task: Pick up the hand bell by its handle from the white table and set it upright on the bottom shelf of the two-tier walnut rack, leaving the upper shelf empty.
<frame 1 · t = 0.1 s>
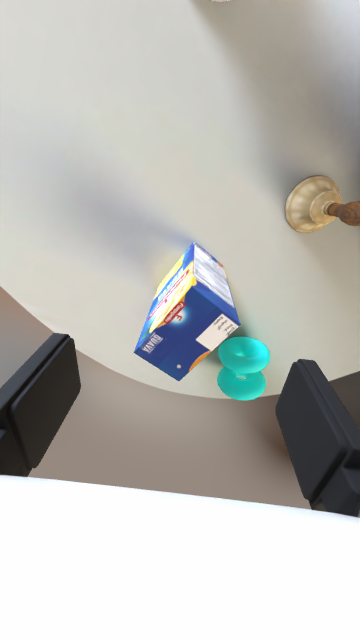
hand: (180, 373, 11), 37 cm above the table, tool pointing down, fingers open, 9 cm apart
beverage box: (189, 275, 47), on the table
donuts: (238, 352, 55), on the table
hand bell: (310, 205, 40), on the table
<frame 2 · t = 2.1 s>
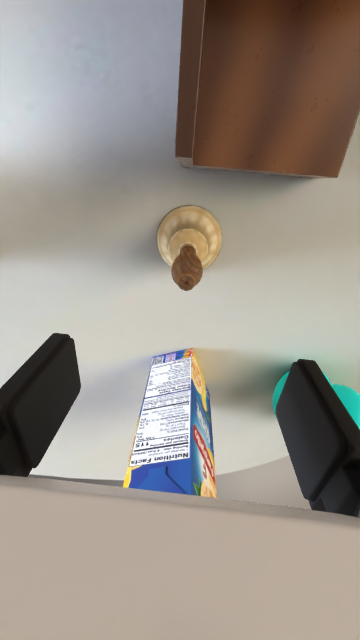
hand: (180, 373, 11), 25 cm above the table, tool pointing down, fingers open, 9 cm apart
beverage box: (182, 375, 43), on the table
donuts: (304, 382, 43), on the table
hand bell: (189, 240, 32), on the table
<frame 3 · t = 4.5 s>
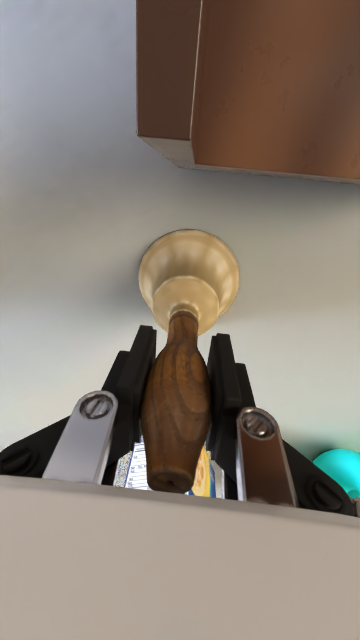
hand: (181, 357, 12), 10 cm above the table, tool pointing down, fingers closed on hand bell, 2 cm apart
beverage box: (178, 449, 32), on the table
donuts: (344, 463, 31), on the table
hand bell: (188, 280, 21), on the table, touching gripper
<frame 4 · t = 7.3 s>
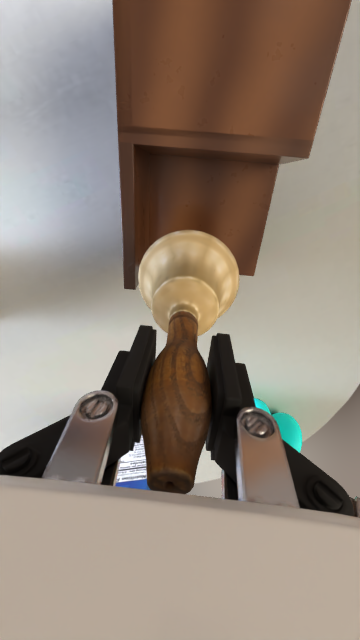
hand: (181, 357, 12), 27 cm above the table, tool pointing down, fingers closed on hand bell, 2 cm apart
rack: (207, 156, 30), on the table
beverage box: (157, 403, 52), on the table
donuts: (258, 409, 51), on the table
hand bell: (188, 281, 21), point 17 cm above the table, touching gripper
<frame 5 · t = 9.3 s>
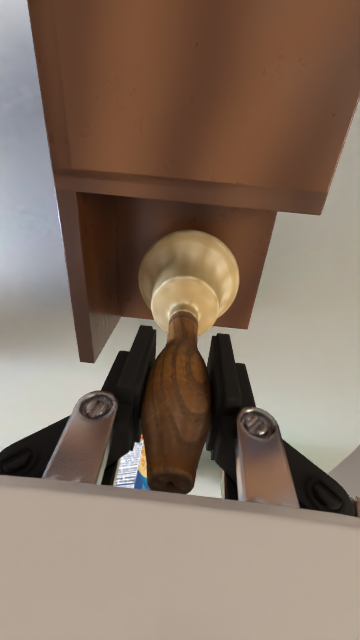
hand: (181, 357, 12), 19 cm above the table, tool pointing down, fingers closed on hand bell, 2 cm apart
rack: (192, 186, 25), on the table
beverage box: (140, 448, 47), on the table
hand bell: (188, 281, 21), point 9 cm above the table, touching gripper
when the fingers open (15 cm above the table, at t = 10.5 s): hand bell stays where it is, resting on rack.
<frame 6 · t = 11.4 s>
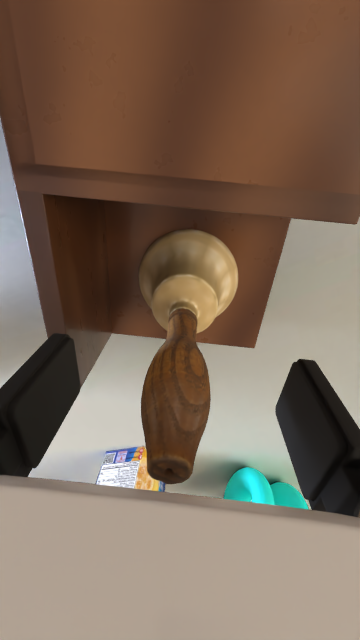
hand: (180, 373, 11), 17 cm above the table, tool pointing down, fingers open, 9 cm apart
rack: (192, 187, 22), on the table
beverage box: (137, 466, 44), on the table
donuts: (257, 476, 43), on the table
hand bell: (187, 279, 21), point 5 cm above the table, touching rack
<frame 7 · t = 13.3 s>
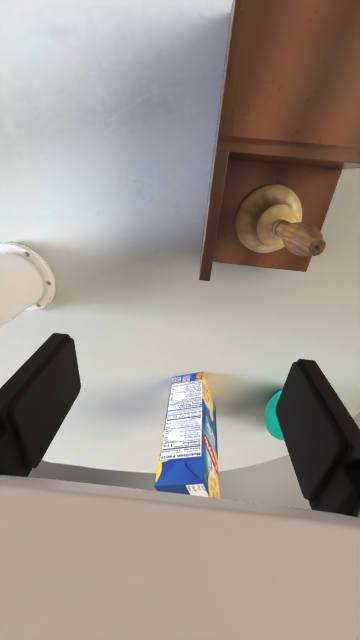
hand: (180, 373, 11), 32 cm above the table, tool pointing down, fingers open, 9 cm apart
rack: (269, 160, 33), on the table
beverage box: (194, 391, 55), on the table
donuts: (291, 400, 54), on the table
hand bell: (267, 220, 32), point 5 cm above the table, touching rack
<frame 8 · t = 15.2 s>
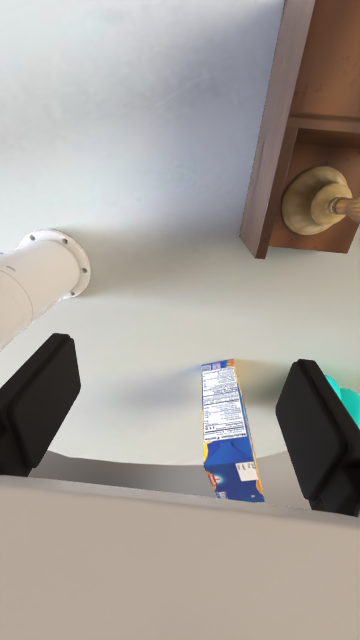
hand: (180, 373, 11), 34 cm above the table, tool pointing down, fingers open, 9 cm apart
rack: (312, 144, 34), on the table
beverage box: (222, 379, 56), on the table
donuts: (317, 386, 55), on the table
hand bell: (312, 202, 33), point 5 cm above the table, touching rack
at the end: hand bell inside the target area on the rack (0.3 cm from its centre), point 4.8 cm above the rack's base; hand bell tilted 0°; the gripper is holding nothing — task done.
